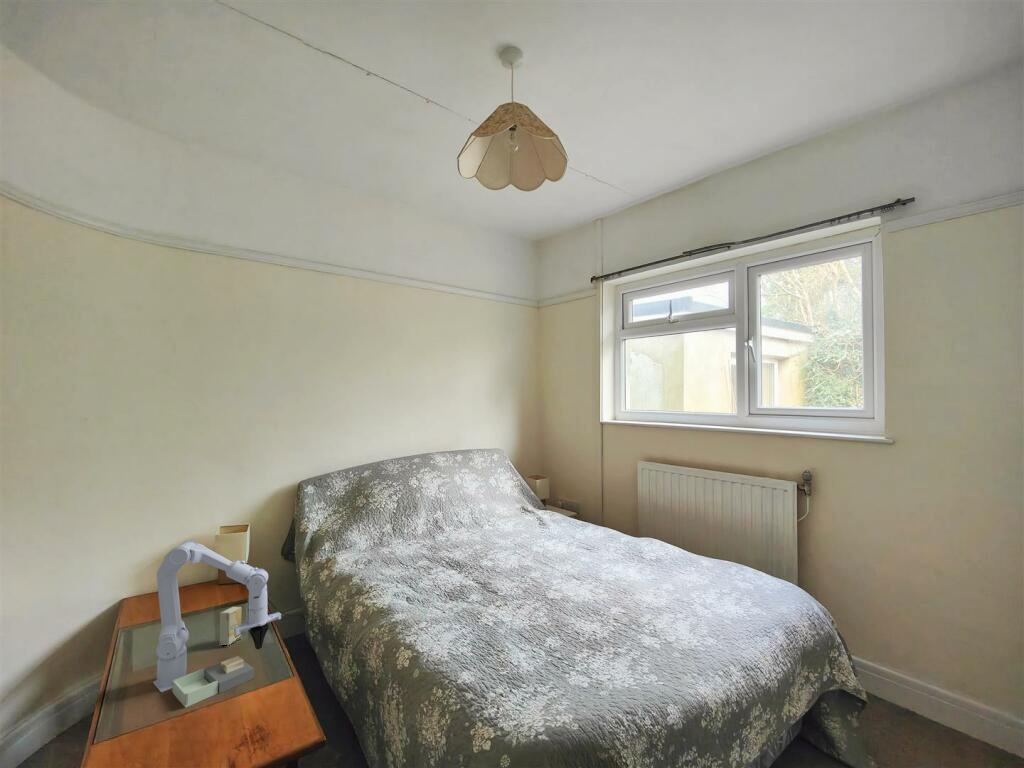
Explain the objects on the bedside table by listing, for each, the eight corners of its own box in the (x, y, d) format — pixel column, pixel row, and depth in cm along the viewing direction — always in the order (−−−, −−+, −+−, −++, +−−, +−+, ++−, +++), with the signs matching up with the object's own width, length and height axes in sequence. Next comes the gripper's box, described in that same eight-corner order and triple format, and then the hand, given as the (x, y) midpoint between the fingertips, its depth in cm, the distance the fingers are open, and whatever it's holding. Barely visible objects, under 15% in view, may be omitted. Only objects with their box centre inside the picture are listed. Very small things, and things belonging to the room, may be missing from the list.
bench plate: (204, 678, 148) (204, 669, 148) (237, 665, 156) (237, 656, 156) (219, 693, 139) (219, 683, 139) (254, 678, 147) (254, 668, 147)
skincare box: (228, 647, 169) (228, 613, 170) (219, 646, 170) (219, 613, 171) (242, 638, 175) (242, 606, 176) (232, 638, 176) (232, 606, 177)
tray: (172, 692, 141) (172, 680, 141) (203, 679, 147) (203, 668, 148) (185, 707, 133) (185, 694, 133) (217, 693, 139) (217, 681, 139)
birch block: (221, 668, 148) (221, 662, 148) (237, 661, 152) (237, 655, 152) (226, 673, 145) (226, 666, 145) (243, 666, 149) (243, 660, 149)
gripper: (239, 617, 148) (239, 660, 147) (284, 602, 159) (285, 642, 158) (231, 612, 152) (231, 654, 151) (275, 598, 163) (276, 637, 162)
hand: (258, 648), depth 155 cm, fingers closed
